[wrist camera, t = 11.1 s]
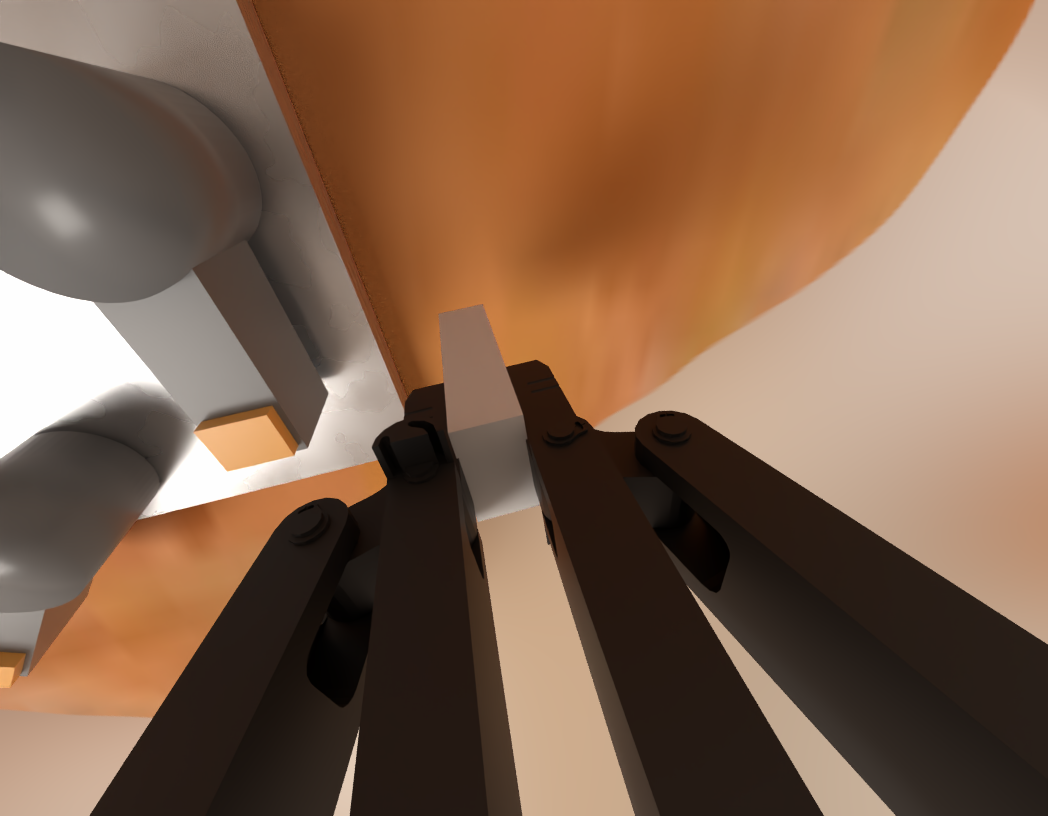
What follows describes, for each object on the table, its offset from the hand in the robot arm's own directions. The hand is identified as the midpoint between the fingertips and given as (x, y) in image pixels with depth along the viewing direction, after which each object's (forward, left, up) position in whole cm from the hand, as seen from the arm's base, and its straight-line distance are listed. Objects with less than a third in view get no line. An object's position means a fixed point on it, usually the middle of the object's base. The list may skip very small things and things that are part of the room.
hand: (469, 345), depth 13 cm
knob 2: (-3, -7, -2) cm, 8 cm away
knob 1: (+5, -18, -2) cm, 19 cm away
